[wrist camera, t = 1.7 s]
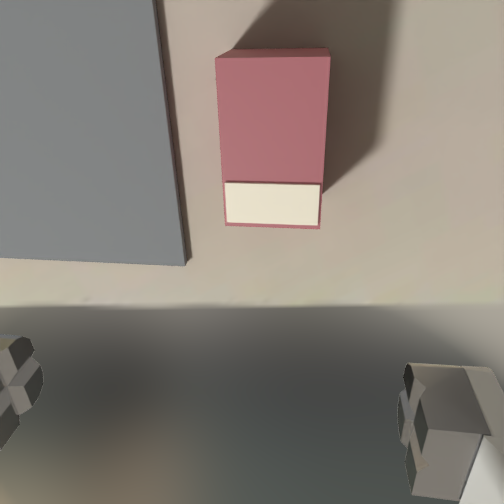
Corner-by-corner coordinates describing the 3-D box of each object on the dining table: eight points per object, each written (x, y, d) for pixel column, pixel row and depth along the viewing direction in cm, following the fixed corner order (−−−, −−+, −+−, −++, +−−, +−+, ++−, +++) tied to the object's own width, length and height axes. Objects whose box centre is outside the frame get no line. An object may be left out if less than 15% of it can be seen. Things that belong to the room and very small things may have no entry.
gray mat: (-104, -8, 26) (-113, -8, 25) (153, -18, 24) (149, -18, 23) (-6, 253, 34) (-11, 257, 34) (187, 262, 32) (184, 266, 32)
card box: (232, 48, 25) (214, 58, 20) (328, 47, 24) (330, 57, 20) (238, 193, 29) (224, 226, 25) (319, 195, 29) (319, 230, 24)
